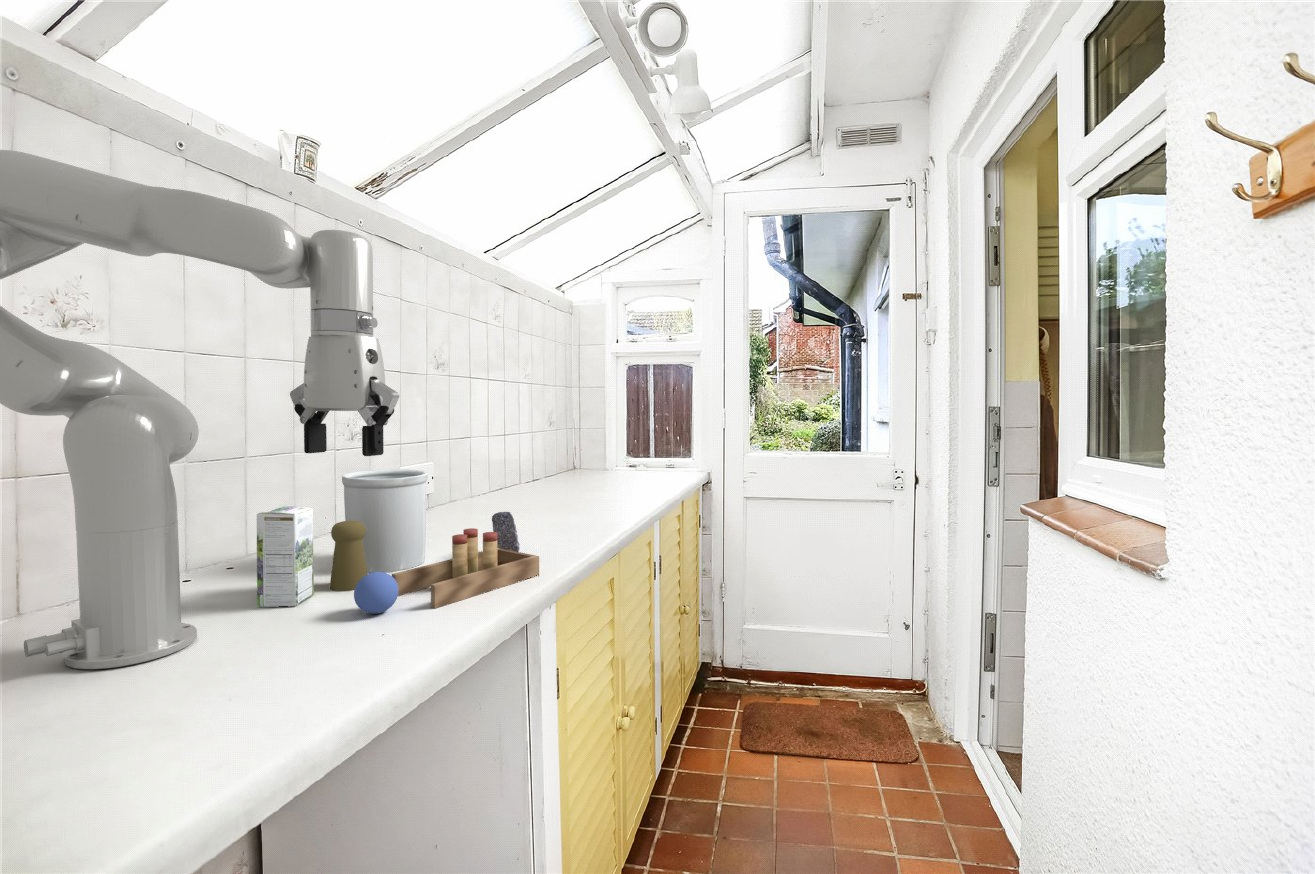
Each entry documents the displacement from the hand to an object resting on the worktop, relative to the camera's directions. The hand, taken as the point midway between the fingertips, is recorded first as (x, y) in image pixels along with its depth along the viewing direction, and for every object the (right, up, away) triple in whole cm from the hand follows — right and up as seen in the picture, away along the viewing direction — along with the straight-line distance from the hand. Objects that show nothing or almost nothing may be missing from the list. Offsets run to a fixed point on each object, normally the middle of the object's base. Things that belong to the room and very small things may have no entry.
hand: (343, 454), depth 84 cm
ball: (+1, -21, +7) cm, 22 cm away
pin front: (+10, -23, +20) cm, 32 cm away
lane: (+11, -23, +21) cm, 33 cm away
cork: (-9, -23, +20) cm, 32 cm away
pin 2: (+14, -23, +22) cm, 35 cm away
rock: (+12, -22, +40) cm, 47 cm away
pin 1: (+10, -23, +25) cm, 35 cm away
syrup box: (-15, -24, +12) cm, 30 cm away
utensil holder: (-9, -22, +35) cm, 42 cm away
